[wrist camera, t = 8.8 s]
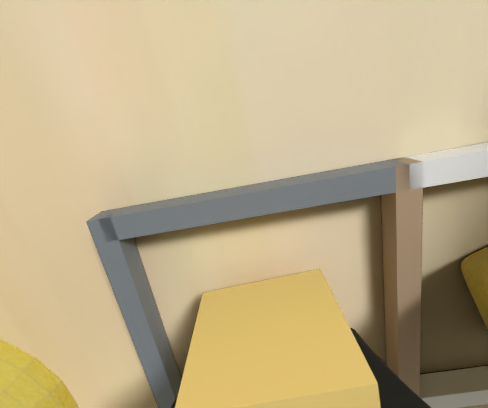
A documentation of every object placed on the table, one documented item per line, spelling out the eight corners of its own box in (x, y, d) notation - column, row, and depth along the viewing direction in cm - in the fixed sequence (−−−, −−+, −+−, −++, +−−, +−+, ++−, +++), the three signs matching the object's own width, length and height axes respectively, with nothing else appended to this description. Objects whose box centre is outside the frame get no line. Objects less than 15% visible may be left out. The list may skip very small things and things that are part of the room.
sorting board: (723, 100, 10) (784, 97, 9) (637, 359, 14) (672, 381, 13) (101, 211, 12) (86, 221, 11) (177, 419, 16) (172, 443, 14)
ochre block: (320, 268, 11) (377, 383, 6) (336, 360, 12) (393, 510, 8) (202, 292, 11) (172, 418, 7) (232, 379, 13) (224, 533, 8)
